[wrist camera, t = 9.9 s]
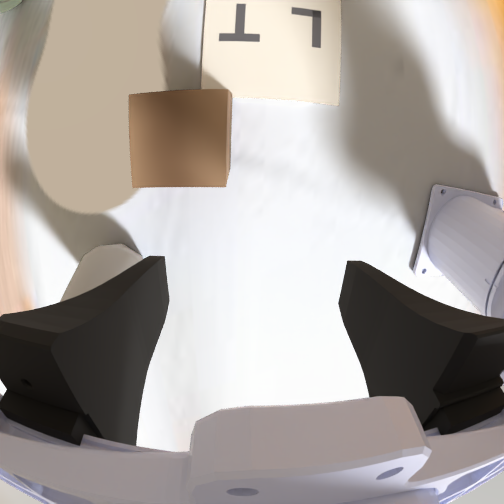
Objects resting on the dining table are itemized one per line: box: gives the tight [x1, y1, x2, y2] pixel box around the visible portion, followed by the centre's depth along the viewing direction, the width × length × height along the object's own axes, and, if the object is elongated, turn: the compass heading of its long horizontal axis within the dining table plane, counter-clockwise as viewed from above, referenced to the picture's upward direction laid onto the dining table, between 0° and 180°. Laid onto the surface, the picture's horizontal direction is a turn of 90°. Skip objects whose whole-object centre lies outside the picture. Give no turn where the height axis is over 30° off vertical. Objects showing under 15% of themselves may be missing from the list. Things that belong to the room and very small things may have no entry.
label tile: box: [201, 0, 341, 106], centre depth 15 cm, size 9×11×1 cm
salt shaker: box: [60, 244, 143, 302], centre depth 16 cm, size 6×6×13 cm
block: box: [129, 89, 232, 188], centre depth 16 cm, size 5×5×5 cm
